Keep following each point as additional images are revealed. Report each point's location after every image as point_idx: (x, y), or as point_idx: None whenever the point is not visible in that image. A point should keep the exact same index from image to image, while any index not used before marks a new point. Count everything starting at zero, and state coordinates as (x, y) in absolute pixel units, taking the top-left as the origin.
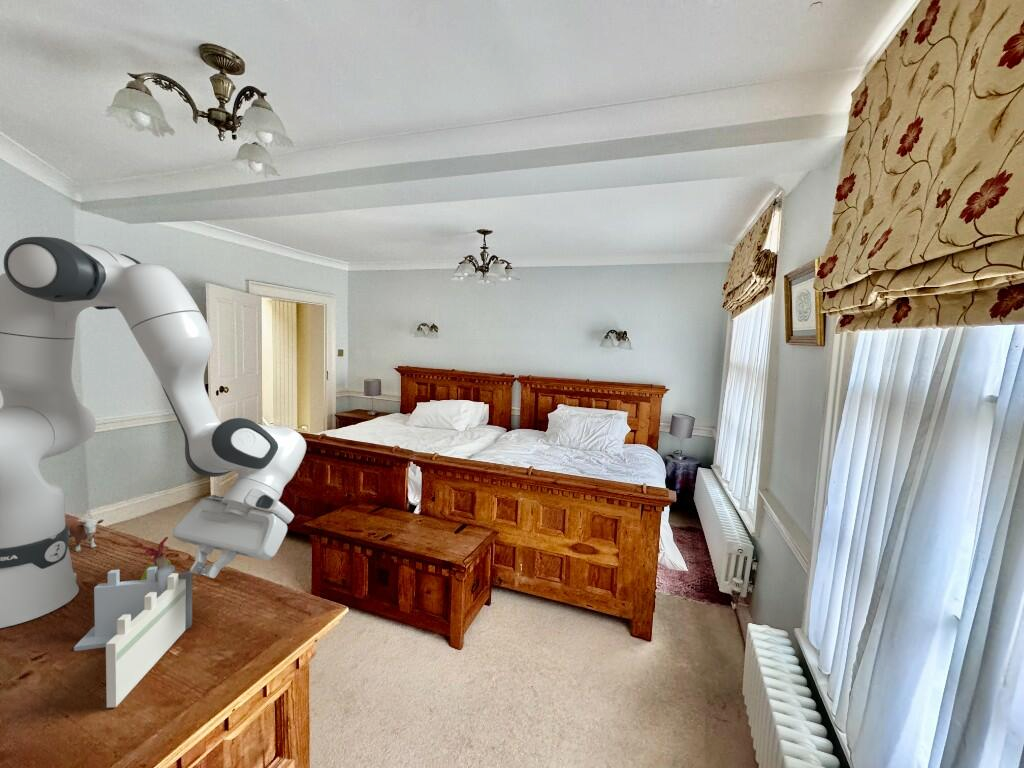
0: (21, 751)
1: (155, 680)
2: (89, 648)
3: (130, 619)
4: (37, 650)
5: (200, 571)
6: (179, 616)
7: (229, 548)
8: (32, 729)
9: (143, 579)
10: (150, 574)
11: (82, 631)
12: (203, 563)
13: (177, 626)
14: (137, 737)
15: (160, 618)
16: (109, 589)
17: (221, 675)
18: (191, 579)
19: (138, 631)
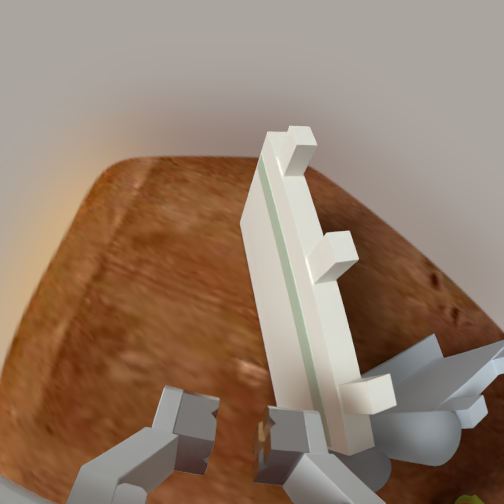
0: None
1: (224, 287)
2: (414, 344)
3: (291, 154)
4: (468, 326)
5: (263, 433)
6: None
7: (45, 501)
8: (324, 194)
9: (476, 501)
10: (462, 403)
11: None
12: (266, 456)
13: (285, 402)
14: (161, 182)
15: (293, 316)
16: (492, 353)
17: (97, 305)
18: None
19: (279, 215)
